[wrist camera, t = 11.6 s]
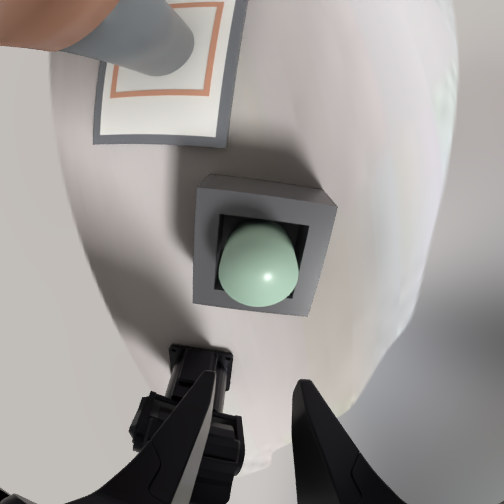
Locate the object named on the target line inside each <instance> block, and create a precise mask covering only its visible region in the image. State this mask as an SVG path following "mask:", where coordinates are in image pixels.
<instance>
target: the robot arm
mask: <svg viewBox="0 0 504 504" xmlns="http://www.w3.org/2000/svg"><path fill="white" fill-rule="evenodd" d="M169 355H170V363H171V370H172V374H171V378H170V381H169V384H168V388H167V391H166V395H165V396H162V395H159V394H156V392H153V391H151V392H150V395H149V396H148V397H142V400H141V403H140V405H139V408H138V411H137V413H136V415H135V417H134V419H133V422H132V424H131V426H130V429H129V433H130V435H131V436H132V438H133V440H132V442H133V443H134V445H133V451H136V452H139V453H138V454H137V456H136V457H135V458H134V459H133V460H132V461H131V462H130V463H129V464H128V465H127V466H126V467H124V468H123V469H122V470H121V471H120V472H119V473H118V474H116V475H115V476H114V477H113V478H112V479H111V480H109V481H108V482H107V483H106V484H105V485H103V486H102V487H101V488H100V489H98V490H97V491H95V492H93V493H92V494H90V495H88V496H85V497H82V498H80V499H77V500H74V501H71V502H68V503H65V504H226V503H227V502H228V501H229V498H230V492H231V486H232V481H233V478H234V476H236V475H237V474H238V473H239V472H240V470H241V468H242V465H243V461H244V456H245V444H244V435H243V426H242V417H241V416H237V415H235V416H233V415H228V414H224V413H223V405H224V397H225V391H228V390H229V387H230V379H231V371H232V363H233V355H232V354H231V353H227V352H219V351H212V350H205V349H199V348H193V347H187V346H181V345H175V344H172V345H170V347H169ZM228 357H229V358H228ZM292 444H293V456H294V466H295V478H296V490H297V502H298V504H407V503H405V502H404V501H403V500H402V499H400V498H399V497H398V496H397V495H396V494H395V493H394V492H393V491H392V490H391V488H390V487H388V485H386V484H385V482H384V481H383V480H382V479H381V478H380V477H379V476H378V475H377V474H376V472H375V471H374V470H373V469H372V468H371V466H370V465H369V464H368V462H367V461H366V460H365V458H364V457H363V455H362V454H361V453H359V452H360V451H359V450H358V448H357V447H356V445H355V444H354V443H353V441H352V440H351V438H350V437H349V435H348V434H347V432H346V431H345V430H344V428H343V427H342V425H341V424H340V422H339V421H338V419H337V418H336V416H335V415H334V414H333V412H332V411H331V409H330V408H329V406H328V405H327V403H326V402H325V400H324V399H323V397H322V396H321V394H320V393H319V391H318V390H317V388H316V387H315V385H314V384H313V382H312V381H311V380H309V379H300V380H299V381H298V382H297V385H296V387H295V389H294V392H293V397H292ZM0 504H36V503H34V502H32V501H30V500H28V499H26V498H23V497H22V496H19V495H17V494H12V495H10V494H9V493H7V492H6V491H4V490H3V489H1V488H0ZM499 504H504V501H503V502H501V503H499Z"/></svg>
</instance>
